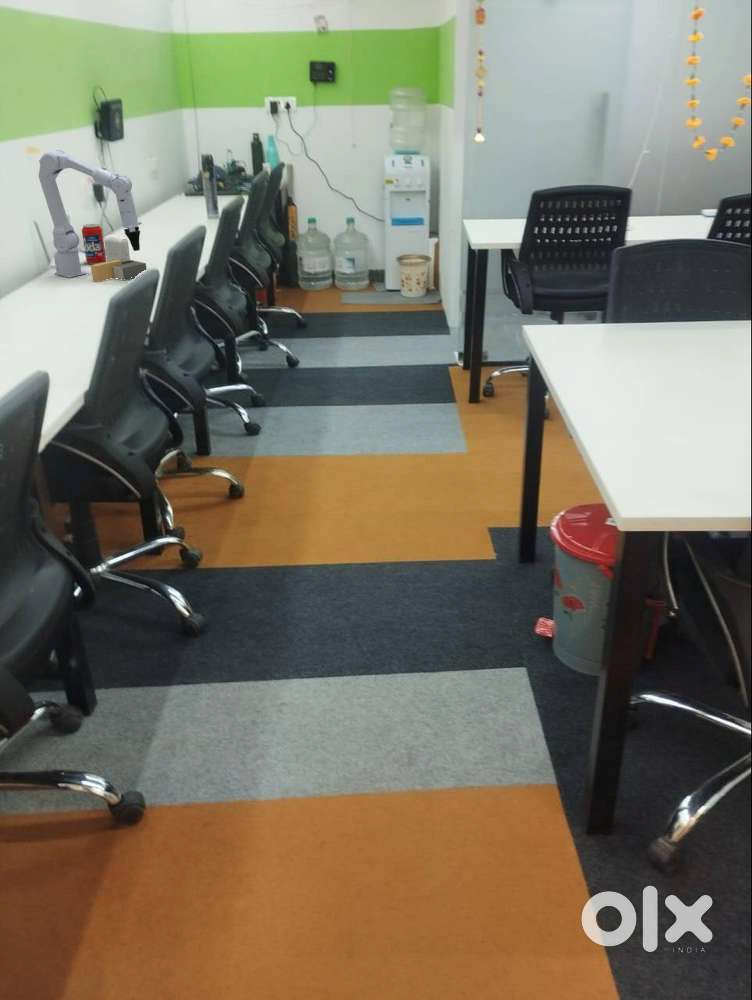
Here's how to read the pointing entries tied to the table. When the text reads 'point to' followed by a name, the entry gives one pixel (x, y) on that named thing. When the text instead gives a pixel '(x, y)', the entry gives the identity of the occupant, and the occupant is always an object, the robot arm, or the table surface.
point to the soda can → (93, 244)
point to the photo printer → (116, 247)
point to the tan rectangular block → (104, 270)
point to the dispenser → (128, 269)
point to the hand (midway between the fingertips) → (136, 249)
